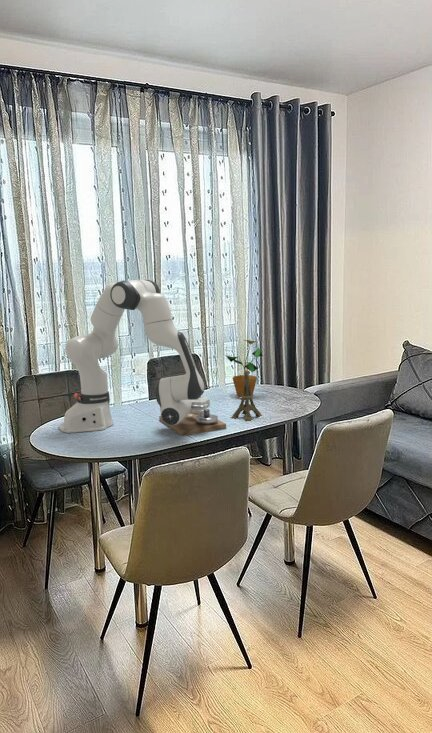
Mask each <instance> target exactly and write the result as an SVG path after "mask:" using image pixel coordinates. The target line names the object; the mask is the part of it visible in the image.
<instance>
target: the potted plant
mask: <svg viewBox="0 0 432 733" xmlns="http://www.w3.org/2000/svg"><path fill="white" fill-rule="evenodd" d="M244 342H247V344H249V345H248V346H249V347H248V350H247V354H246V357H245V361H244V363H243V362H242V360H241V359H240V357H239V356H230V355H225V357H226V358H227V359H228V360H229V361H230V363H232V362H234V363H236V364H238V365H241V366H242V368H243V369H244V370H243V371H246V368H247V371H249V372H250V373H254V372H256V371H257V370H258V369H259V367H257V365H255V364H254V363H252V362H253V361H254V360H255V358H258V357H263V356H264V355H263V353H262V351H261V348H258V349H256V350H254V351H253V352H252V353H251V354H252V355H253V358H252V360H251V361H249V362H248V361H247V359H248V355H249V352H250V349H251V348H250V347H251V345H252V344H254V343H257V341H255V340H247V339H244ZM238 359H239V360H238ZM231 379H232V381H233V385H234V389H235V393H236V396H237V398H239V397H241V395H243V388H244V380H245V374H244V373H243V374H240V375H234V376H232V378H231ZM257 379H258V377H257V376H256V375H250V374H249V381H250V389H251V395H253V396H254V391H255V387H256V383H257V381H258V380H257Z"/></svg>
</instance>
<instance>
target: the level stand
mask: <svg viewBox="0 0 432 733" xmlns="http://www.w3.org/2000/svg"><path fill="white" fill-rule="evenodd" d="M196 416H198V415H195V414H191V413H189V414H188V415H187V416H186V417H185V419H184V420H183V421H181V422H180V423H178V424H176V425H168V424H166V423H165V422H164V421H163V420H162V418H161V415H159V416H158V417H159V418H158V419H159V421H160V422H161V423H162V424H164V425H165V426H166V427H168V428H170V429H171V430H172V431H174V432H175V433H177V434H179V436H188V435H194V434H202V433H207V432H214V431H219V430H220V431H221V430H227V424H226V423H225V422H224V421H221V420H220V419H218V422H217V423H215V424H210V425H202V424H198V423H196Z"/></svg>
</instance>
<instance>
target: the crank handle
mask: <svg viewBox="0 0 432 733" xmlns="http://www.w3.org/2000/svg"><path fill="white" fill-rule="evenodd" d="M210 412H211V411H210V409H209V408H207V409H205V410H191V412H190V413H191V414H195V415H198V416H196V423H198V424H202V425H210V424H215V423H217V422H218V420H219V418H218V417H219V416H218V415H216V414H211V413H210Z"/></svg>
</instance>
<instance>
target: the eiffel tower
mask: <svg viewBox="0 0 432 733" xmlns="http://www.w3.org/2000/svg"><path fill="white" fill-rule="evenodd" d="M243 371H244V370H243ZM244 374H245V380H244V388H243V395H241V397H242V398H241V401H240V403H239V404H238V408H237V409H236V410H235V412H234V413H233V414H232V416H230V419H233V418H234V419H233V420H236V418H237V419H238V417H239V418H240V415H242V414H246V415H245V419H244V420H245V421H244V422H247V421H251V420H253V421H254V419H253V416H252V414H251V413H250V412H251V411H252V412H253V413H254V414H255V416H257V417H260V416H263V415H262V413H261V412H260V411H259V410H258V408H257V407H256V404H255V403H254V400H253V397H254V394H253V395H251V389H250V381H249V375H250V374H251V371H250V370H248V369H247V368H246V367H245V371H244V372H243V375H244ZM257 417H256V418H257ZM251 422H252V421H251Z"/></svg>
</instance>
